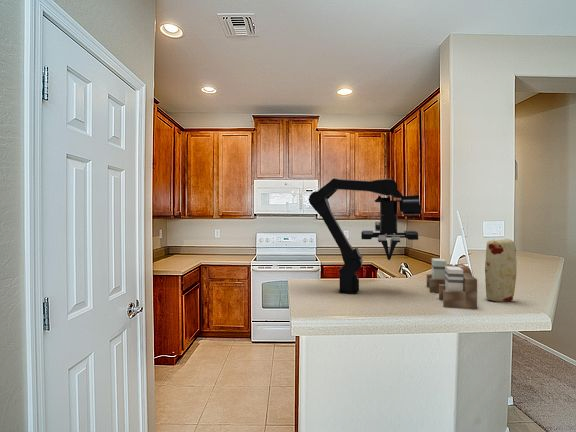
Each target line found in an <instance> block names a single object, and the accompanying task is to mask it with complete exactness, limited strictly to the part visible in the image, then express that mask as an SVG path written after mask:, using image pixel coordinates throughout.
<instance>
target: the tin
mask: <svg viewBox="0 0 576 432" xmlns="http://www.w3.org/2000/svg"><path fill="white" fill-rule="evenodd" d="M453 266H455V267H460V268H461V269H463V273H469V274H470V275H472V276H473V272H472V270H471V268H470V267H469V266H467V265H465V264H463V263H457V264H454V265H453Z"/></svg>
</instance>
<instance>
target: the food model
mask: <svg viewBox="0 0 576 432" xmlns="http://www.w3.org/2000/svg"><path fill="white" fill-rule="evenodd" d="M485 250H486V251H485V262H484V264H485V265H484V273H485V274H484V276H485V278H484V281H485V294H486V296H485V297H486V300H488V301H493V302H500V303H501V302H504V303H505V302H512V301H513V300H514V296H515V290H516V281H517V273H518V272H517V268H518V267H517V249H516V244H515V241H514V240H512V239H509V238H502V239H492V240H488V241H487V242H486V248H485Z"/></svg>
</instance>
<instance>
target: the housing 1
mask: <svg viewBox="0 0 576 432" xmlns="http://www.w3.org/2000/svg"><path fill="white" fill-rule="evenodd" d="M446 266H453V267H455V266H454V265H453V264H451V263H450V264H448V263H446ZM439 284H444V285H445V279H432V273H426V288H429V293H430V294H439Z"/></svg>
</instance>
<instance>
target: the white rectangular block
mask: <svg viewBox="0 0 576 432" xmlns="http://www.w3.org/2000/svg"><path fill="white" fill-rule="evenodd" d="M453 266H454V265H453ZM453 266H445V290H449V291H463V283H464V280H463V277H464V274H463V269H461V268H460V267H453Z"/></svg>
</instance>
